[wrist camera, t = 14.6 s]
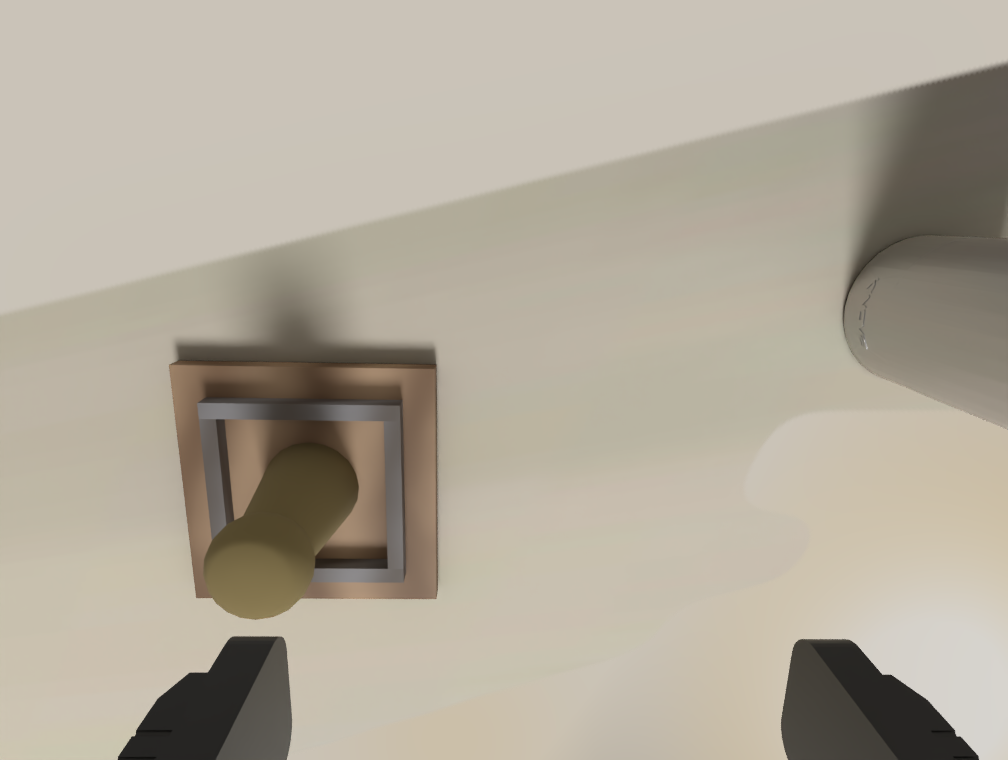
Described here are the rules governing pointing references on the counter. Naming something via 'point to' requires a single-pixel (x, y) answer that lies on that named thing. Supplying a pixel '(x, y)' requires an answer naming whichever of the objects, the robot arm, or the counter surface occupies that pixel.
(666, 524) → the counter surface
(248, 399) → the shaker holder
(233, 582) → the cork
